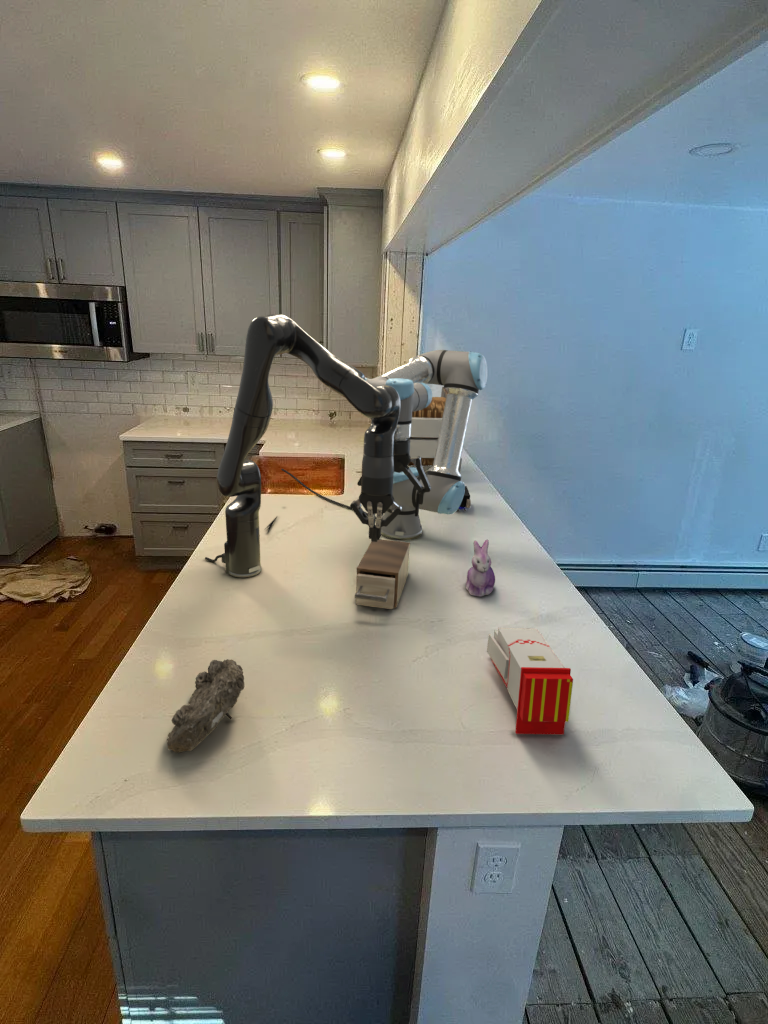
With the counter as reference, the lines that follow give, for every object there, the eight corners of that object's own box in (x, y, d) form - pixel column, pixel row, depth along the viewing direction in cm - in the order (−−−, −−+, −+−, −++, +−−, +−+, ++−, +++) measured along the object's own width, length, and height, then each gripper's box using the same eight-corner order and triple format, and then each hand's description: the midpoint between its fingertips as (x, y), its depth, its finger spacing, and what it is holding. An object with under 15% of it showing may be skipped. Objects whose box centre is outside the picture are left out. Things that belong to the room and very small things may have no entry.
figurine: (477, 600, 156) (482, 550, 151) (456, 584, 164) (460, 537, 159) (504, 594, 160) (510, 545, 155) (482, 579, 168) (487, 532, 163)
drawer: (389, 620, 143) (390, 590, 140) (350, 615, 144) (351, 585, 141) (404, 576, 166) (406, 550, 163) (371, 572, 168) (372, 546, 165)
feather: (285, 510, 221) (287, 506, 220) (266, 535, 194) (269, 530, 194) (281, 507, 221) (283, 503, 220) (262, 532, 194) (265, 527, 193)
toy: (534, 612, 132) (582, 675, 102) (529, 665, 135) (574, 741, 105) (482, 611, 131) (516, 674, 102) (478, 664, 134) (510, 740, 105)
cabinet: (396, 608, 150) (398, 573, 147) (355, 602, 152) (356, 567, 149) (408, 574, 170) (410, 542, 166) (371, 569, 172) (373, 538, 168)
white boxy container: (382, 463, 289) (386, 382, 275) (445, 464, 293) (451, 384, 279) (390, 482, 257) (394, 392, 243) (460, 483, 261) (468, 394, 247)
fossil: (192, 660, 117) (244, 628, 112) (224, 691, 120) (276, 661, 115) (142, 746, 98) (202, 712, 93) (182, 779, 101) (242, 748, 96)
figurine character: (470, 516, 223) (465, 500, 237) (473, 499, 220) (467, 484, 233) (453, 516, 223) (449, 500, 236) (455, 498, 220) (451, 483, 233)
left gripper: (346, 474, 131) (344, 543, 137) (402, 479, 129) (398, 549, 135) (354, 466, 138) (352, 532, 144) (407, 471, 136) (403, 537, 142)
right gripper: (348, 437, 150) (346, 512, 158) (442, 444, 147) (435, 521, 154) (354, 431, 157) (352, 503, 164) (444, 438, 154) (438, 512, 161)
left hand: (374, 540), depth 139 cm, fingers closed
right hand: (392, 512), depth 159 cm, fingers open, 13 cm apart
